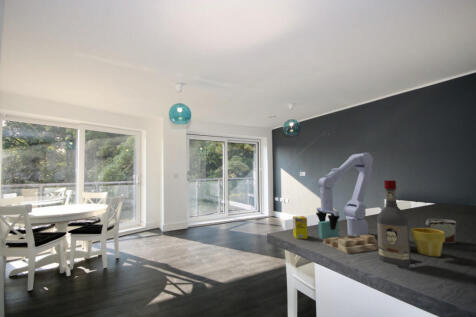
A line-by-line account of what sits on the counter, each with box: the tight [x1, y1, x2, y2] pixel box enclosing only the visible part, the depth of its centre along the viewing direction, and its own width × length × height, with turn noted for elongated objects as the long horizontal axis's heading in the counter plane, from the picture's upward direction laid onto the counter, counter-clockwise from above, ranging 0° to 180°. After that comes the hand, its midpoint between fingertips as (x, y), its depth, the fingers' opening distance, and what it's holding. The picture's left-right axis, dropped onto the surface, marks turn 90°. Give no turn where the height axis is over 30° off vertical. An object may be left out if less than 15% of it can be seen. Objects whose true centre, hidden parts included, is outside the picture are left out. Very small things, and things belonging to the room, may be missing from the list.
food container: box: [425, 218, 458, 244], centre depth 110 cm, size 12×6×10 cm, turn 84°
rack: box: [321, 235, 379, 255], centre depth 102 cm, size 18×16×3 cm
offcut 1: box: [337, 238, 354, 252], centre depth 97 cm, size 4×4×4 cm
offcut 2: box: [351, 237, 365, 246], centre depth 99 cm, size 5×4×4 cm
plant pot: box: [410, 227, 445, 257], centre depth 91 cm, size 10×10×10 cm
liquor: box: [376, 179, 412, 269], centre depth 85 cm, size 9×9×30 cm
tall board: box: [317, 220, 340, 239], centre depth 116 cm, size 10×2×8 cm, turn 107°
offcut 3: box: [359, 233, 376, 245], centre depth 100 cm, size 4×4×4 cm
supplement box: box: [292, 215, 308, 240], centre depth 117 cm, size 6×6×11 cm
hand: (327, 227), depth 116 cm, fingers open, 7 cm apart
